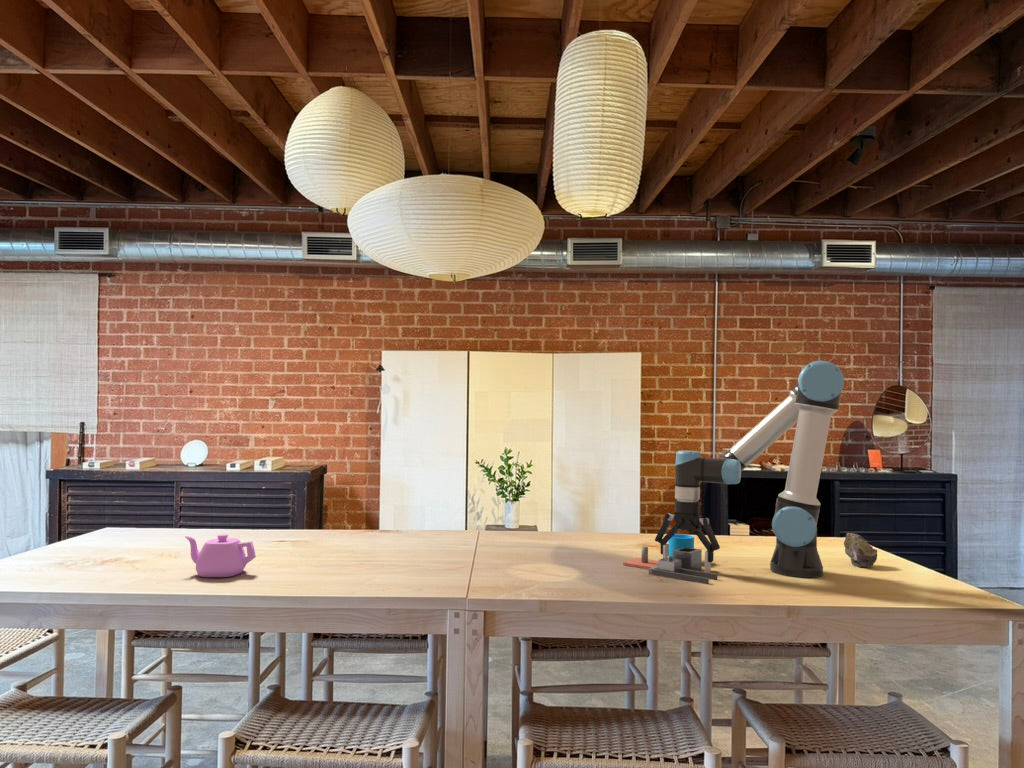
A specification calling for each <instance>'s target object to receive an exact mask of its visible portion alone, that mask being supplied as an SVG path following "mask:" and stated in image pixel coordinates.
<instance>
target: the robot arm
mask: <svg viewBox="0 0 1024 768" xmlns="http://www.w3.org/2000/svg"><path fill="white" fill-rule="evenodd" d="M844 386H845V376H844V374H843V372H842V370H841V368H839V366H837V365H836V364H835V363H833V362H831V361H827V360H816V361H812V362H810V363H807V365H805V366H804V367H803V368H802V369H801V371H800V373H799V375H798V378H797V383H795V385H794V386H793V387H792V388H791V389H790V390H789V395H788V396H787V397H786V398H784V399H783V400H782V401H781V402H780V403H779V404H778V405H777V406H775V408H773V409H772V410H771V411H770V412H768V414H767V415H765V417H763V419H761V420H760V421H759V422H758V423H757V424H756V425H755V426H753V427H752V429H750V430H749V431H748V432H747V433H746V434H745V435H744V436H742V437H741V438H740V439H739V440H738V441H737V442H736V443H734V444H733V446H732V447H730V448H729V449H728V450H727V451H725V452H724V453H723V454H722V455H721V456H720V457H719V458H715V457H714V458H708V457H702V455H701V452H700V451H699V450H678V451H676V453H675V455H676V456H675V464H674V466H675V467H674V469H675V470H674V471H675V472H674V473H675V474H674V482H675V483H674V485H675V486H674V499H676V500H674V514H672V513H671V512H669V513H665V514H664V521H663V522H662V524H661V526H660V528H659V530H658V532H657V535H656V536H655V538H654V541H655V542H657V543H659V544H660V555H662V559H663V558H667V556H669V544H668V541H669V540H670V539H671V537H672V536H673V535H674V534H677V532H678V531H679V530H681V531H687V532H693V533H694V534H695V536H697V538H698V539H699V541H700V542H701V543H702V544H703V546H704V548H705V549H706V550H705V551H704V572H707V573H711V563H713V562H714V555H715V554H714V553H715V551H719V550H720V549H721V546H720V545H719V542H718V539H717V537H716V535H715V533H714V530H713V528H712V526H711V521H710V518H709V517H705V518H701V516H700V510H701V509H700V505H701V504H700V501H699V500H700V499H701V498H700V495H701V491H700V490H701V483H712V484H714V483H715V484H726V485H737V484H739V483H741V479H742V478H741V477H742V472H743V470H744V469H746V468H747V467H748V466H749V465H750V464H751V463H752V462H753V461H754V460H756V459H757V458H758V457H759V456H760V455H761V454H763V453H764V452H765V451H766V450H767V449H768V448H769V447H770V446H772V445H773V444H774V443H775V442H776V441H777V440H779V439H780V438H781V437H782V436H783V435H784V434H785V433H786V432H787V431H788V430H790V429H791V428H792V427H793V426H795V424H796V428H795V433H794V437H793V444H792V450H791V455H790V458H789V459H790V461H789V465H788V470H787V476H786V480H785V487H784V490H783V491H781V492H780V493H778V496H777V498H776V502H775V510H774V515H773V517H772V520H771V527H772V531H773V534H774V535H775V541H776V542H775V548H774V550H773V553H772V556H771V559H770V563H769V566H770V567H769V570H770V571H771V572H773V573H775V574H779V575H784V576H789V577H798V578H818V577H822V576H824V566H823V563H822V561H821V560H822V559H821V557H820V554H819V551H818V543H817V542H818V533H817V532H818V527H817V525H818V519H819V516H820V515H819V514H820V508H821V506H822V505H821V502H820V501H819V499H818V498H817V493H818V490H819V489H818V488H819V484H820V478H821V472H822V467H823V462H824V457H825V450H826V446H827V440H828V435H829V430H830V424H831V419H832V416H833V415H834V414H836V413H837V412H839V407H840V403H841V396H842V392H843V389H844ZM673 521H674V522H675V524H674V525H673V527H672V528H671V529H670V530H669V531H668V533H666V532H667V530H668V528H669V526H670V524H671V522H673ZM699 524H701V525H702V526H703V529H704V531H703V530H702V528H701V526H700V525H699ZM704 532H705V533H704ZM664 535H665V536H664Z"/></svg>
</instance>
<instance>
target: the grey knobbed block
mask: <svg viewBox="0 0 1024 768" xmlns="http://www.w3.org/2000/svg"><path fill="white" fill-rule="evenodd" d="M658 561H659V562H658V570H663V571H669V572H675V573H681V560H679V559H673V557H672V556H667V558H663V557H662V558H660V559H658Z"/></svg>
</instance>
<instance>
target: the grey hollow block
mask: <svg viewBox="0 0 1024 768" xmlns="http://www.w3.org/2000/svg"><path fill="white" fill-rule="evenodd" d="M702 556H703V555H702V549H701V548H695V547H694V548H688V547H682V548H679V549H676V550H673V559H679V560H681V568H682V569H689V570H695V571H701V570H702V561H703V559H702Z"/></svg>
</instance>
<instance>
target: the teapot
mask: <svg viewBox="0 0 1024 768" xmlns="http://www.w3.org/2000/svg"><path fill="white" fill-rule="evenodd" d="M216 536H217V538H213V539H208V540H207V541H205V542H204V543H203V546H202V547H201V550H200V551H199V549H198V545H197V541H196V540H195V538H193V537H192V536H187V535H186V536H184V538H186V540H188V541H189V544H190V558H191V560H192V562H193V563H194V564H195V572H196V573H197V574H198V576H199V577H202V578H228V577H234V576H237V575H239V574H241V573H242V572H243V571H244V569H245V568H246V566H247V564H249V563H250V562H252V561H253V560H254V559H255V558H256V557H257V554H256V552H255V547H254V542H253V541H245V542H241V540H240V539H239V538H230V537H228V536H229V535H228V534H225V533H224V534H218V535H216ZM245 547H246V553H247V554H246V553H245V550H244V548H245ZM246 555H247V556H246Z"/></svg>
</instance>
